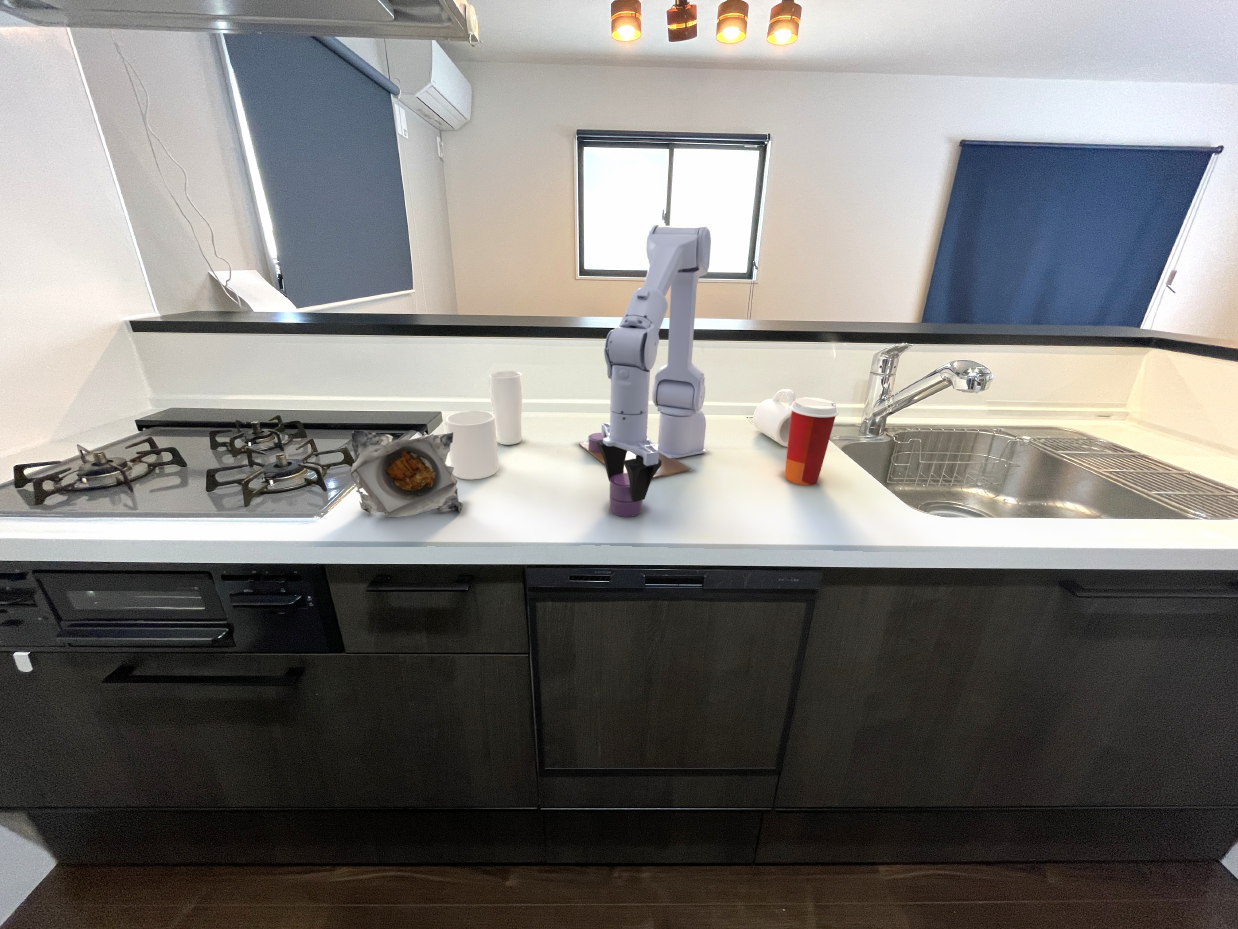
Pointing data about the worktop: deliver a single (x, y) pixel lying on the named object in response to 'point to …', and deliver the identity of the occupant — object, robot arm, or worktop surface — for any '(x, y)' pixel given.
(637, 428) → the robot arm
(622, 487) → the dish middle
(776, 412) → the mug
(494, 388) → the drinking glass
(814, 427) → the coffee cup
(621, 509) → the dish bottom
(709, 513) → the worktop surface
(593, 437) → the dish top
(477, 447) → the mug
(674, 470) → the mat
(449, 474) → the meal
